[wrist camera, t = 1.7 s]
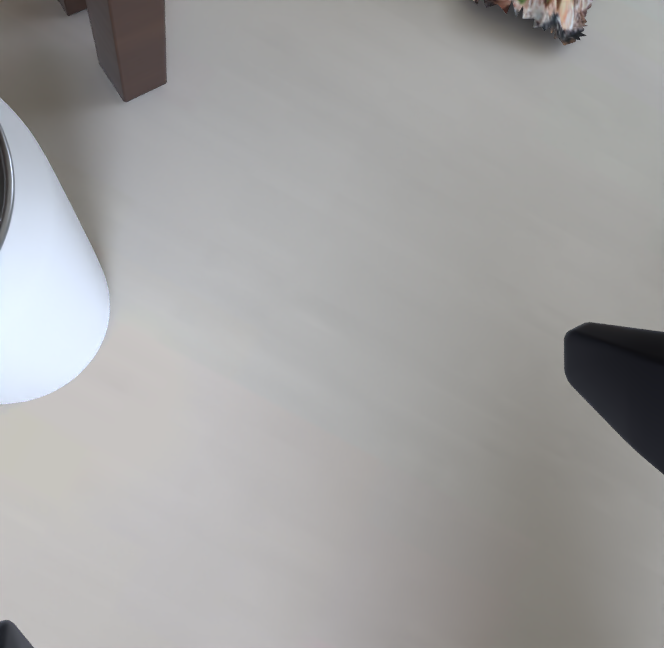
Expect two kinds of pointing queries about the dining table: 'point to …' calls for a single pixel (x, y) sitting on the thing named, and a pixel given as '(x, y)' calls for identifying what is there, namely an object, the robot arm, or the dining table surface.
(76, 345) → the can
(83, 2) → the desk
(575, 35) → the plant with pod
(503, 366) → the dining table surface
